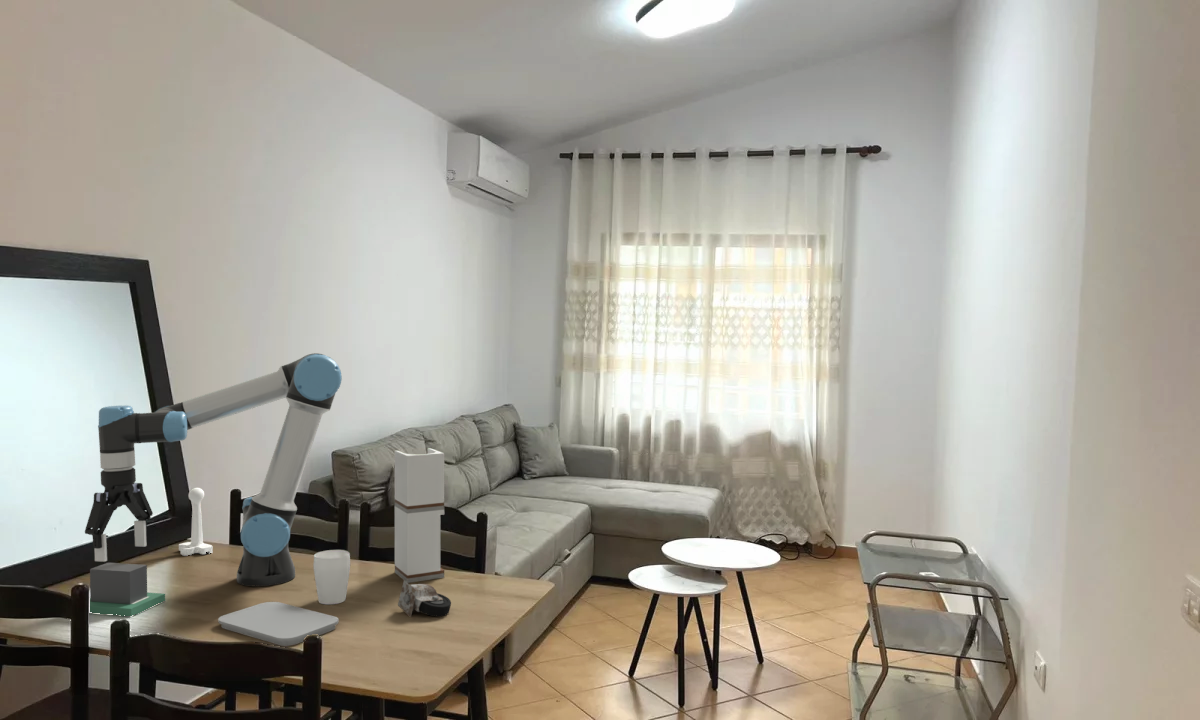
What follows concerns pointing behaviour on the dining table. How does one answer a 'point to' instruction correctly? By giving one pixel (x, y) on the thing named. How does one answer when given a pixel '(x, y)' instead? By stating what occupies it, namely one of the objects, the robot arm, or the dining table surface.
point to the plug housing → (118, 583)
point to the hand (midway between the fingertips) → (121, 553)
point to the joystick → (196, 527)
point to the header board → (127, 605)
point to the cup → (331, 575)
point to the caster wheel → (423, 600)
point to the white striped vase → (418, 514)
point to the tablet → (278, 622)
